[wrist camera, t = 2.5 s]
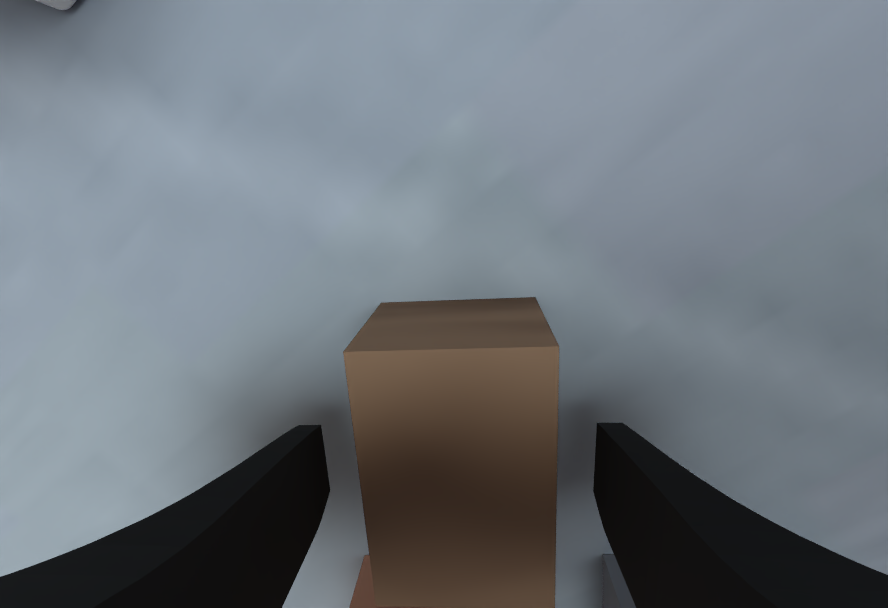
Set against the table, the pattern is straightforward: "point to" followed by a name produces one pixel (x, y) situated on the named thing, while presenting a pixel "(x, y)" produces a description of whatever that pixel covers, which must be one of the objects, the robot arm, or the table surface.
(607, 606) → the grey block
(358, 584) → the terracotta block
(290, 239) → the table surface
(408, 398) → the walnut block
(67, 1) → the jar
